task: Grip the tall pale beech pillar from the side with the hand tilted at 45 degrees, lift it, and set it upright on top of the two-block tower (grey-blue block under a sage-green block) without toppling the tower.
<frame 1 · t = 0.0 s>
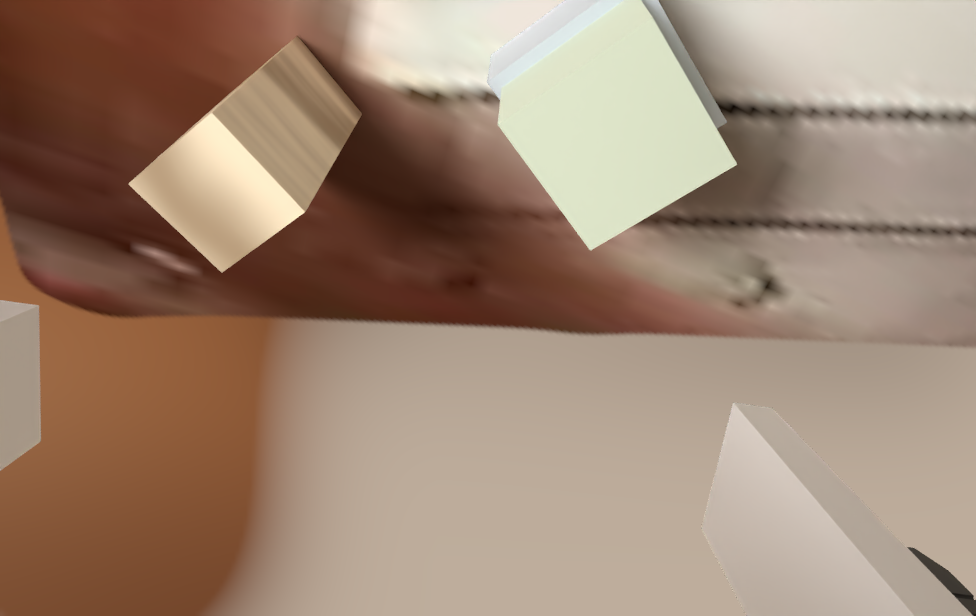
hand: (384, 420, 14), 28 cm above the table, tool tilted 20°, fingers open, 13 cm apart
tower top: (607, 105, 33), point 5 cm above the table, touching tower base
pillar: (297, 103, 39), on the table
tower base: (599, 72, 37), on the table, touching tower top
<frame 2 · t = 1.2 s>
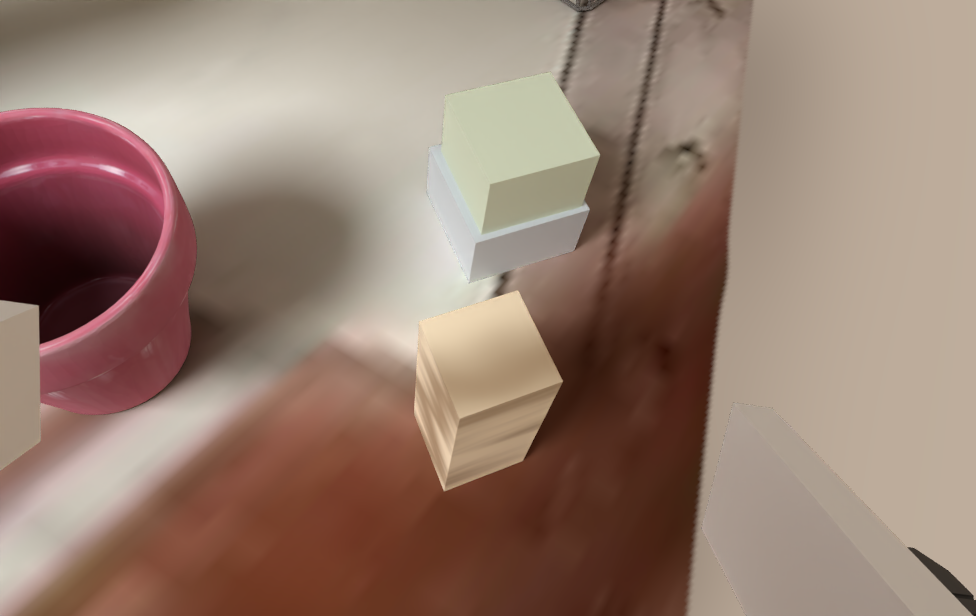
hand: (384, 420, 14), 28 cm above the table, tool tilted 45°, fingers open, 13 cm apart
tower top: (510, 178, 47), point 5 cm above the table, touching tower base
pillar: (467, 437, 43), on the table
tower base: (499, 222, 51), on the table, touching tower top
plant pot: (112, 346, 44), on the table
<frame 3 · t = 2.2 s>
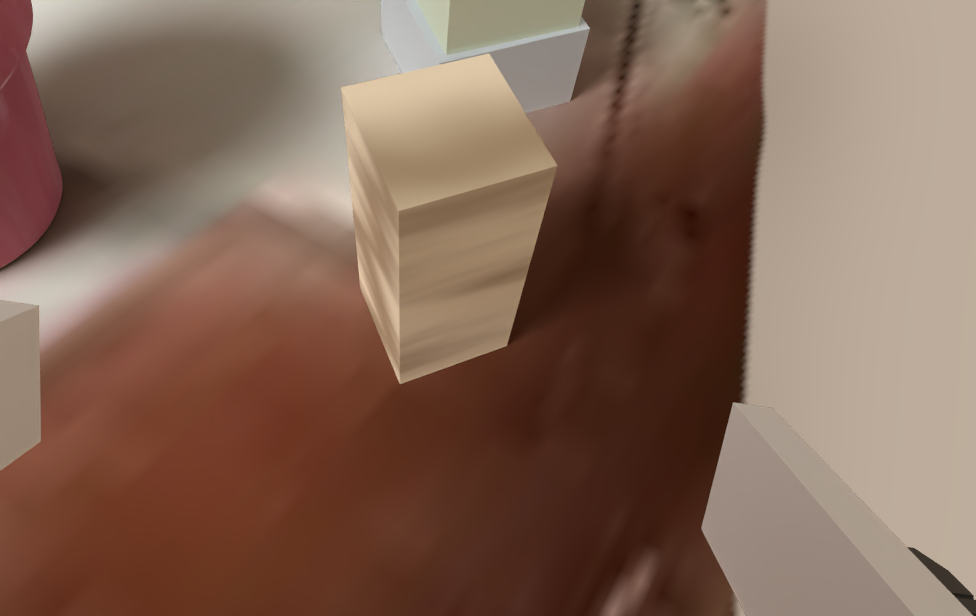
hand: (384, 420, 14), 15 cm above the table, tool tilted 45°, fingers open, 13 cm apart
pillar: (432, 317, 32), on the table
tower base: (474, 70, 40), on the table, touching tower top
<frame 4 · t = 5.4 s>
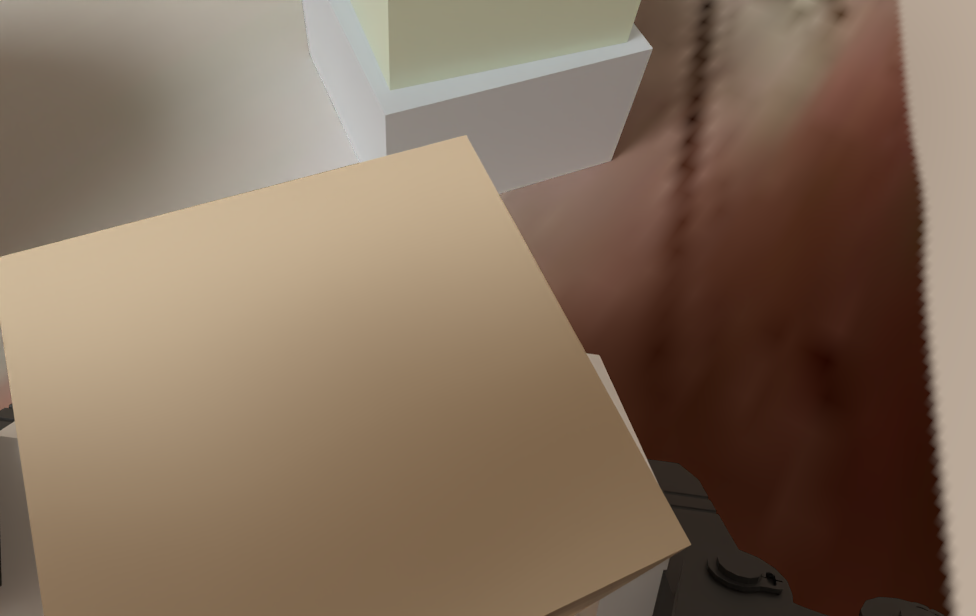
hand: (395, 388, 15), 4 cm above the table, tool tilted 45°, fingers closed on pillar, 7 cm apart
pillar: (372, 592, 17), on the table, touching gripper
tower base: (456, 111, 25), on the table
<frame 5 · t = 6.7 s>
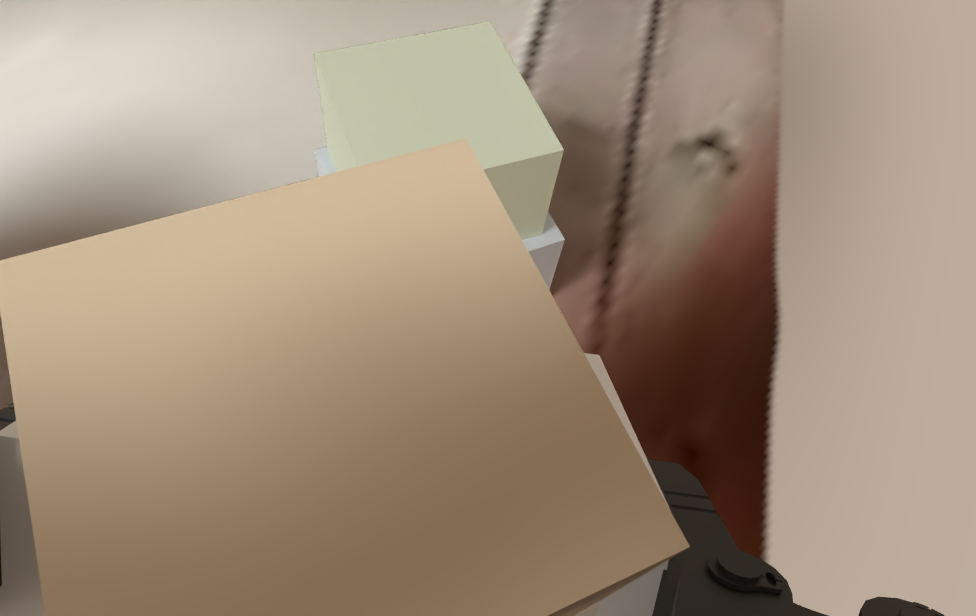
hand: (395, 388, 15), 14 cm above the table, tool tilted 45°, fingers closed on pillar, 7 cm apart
tower top: (432, 190, 30), point 5 cm above the table, touching tower base
pillar: (372, 593, 17), point 10 cm above the table, touching gripper
tower base: (433, 260, 34), on the table, touching tower top
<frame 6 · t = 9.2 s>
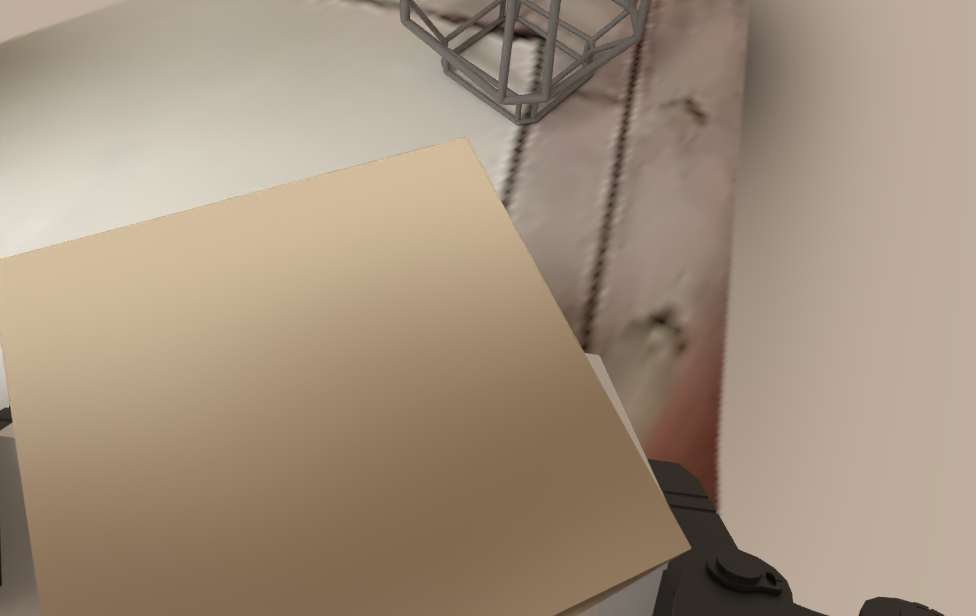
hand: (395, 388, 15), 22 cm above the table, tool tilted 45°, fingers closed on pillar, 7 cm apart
pillar: (372, 594, 17), point 18 cm above the table, touching gripper
geometric lantern: (502, 66, 52), on the table
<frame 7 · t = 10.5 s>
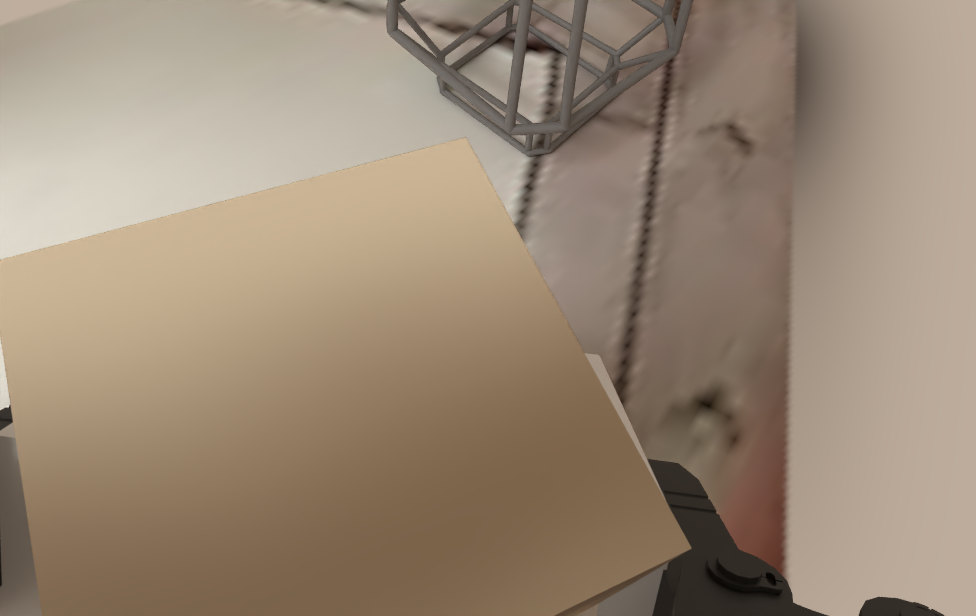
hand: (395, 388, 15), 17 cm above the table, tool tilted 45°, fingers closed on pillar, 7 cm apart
pillar: (372, 594, 17), point 13 cm above the table, touching gripper
geometric lantern: (510, 84, 44), on the table
when the fingers open (15 cm above the table, at t = 11.4 s): pillar drops 2 cm, resting on tower top.
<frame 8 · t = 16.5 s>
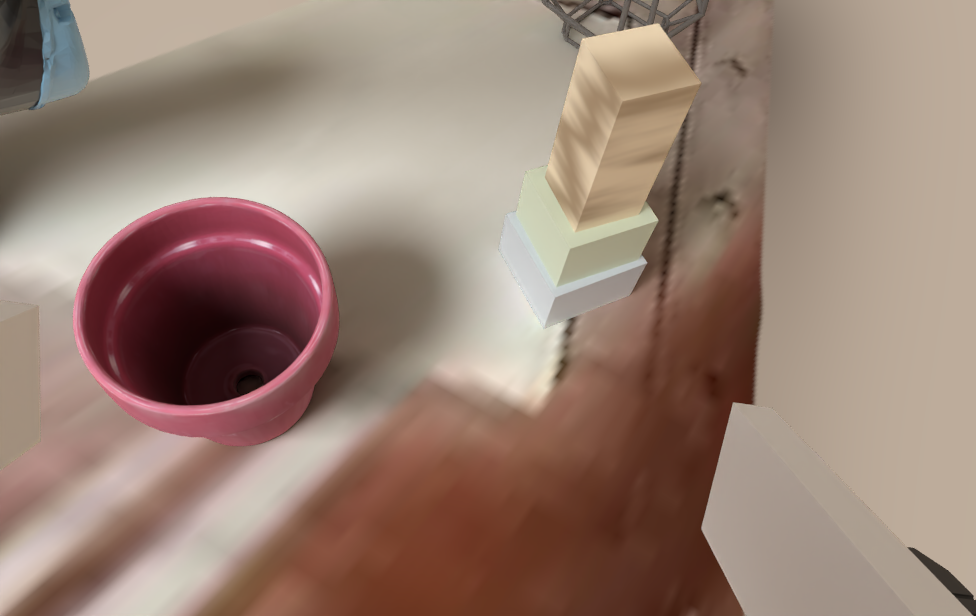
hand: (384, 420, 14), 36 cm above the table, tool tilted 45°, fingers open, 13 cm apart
tower top: (576, 236, 55), point 5 cm above the table, touching pillar, tower base
pillar: (591, 195, 50), point 10 cm above the table, touching tower top
tower base: (563, 273, 59), on the table, touching tower top
geometric lantern: (603, 36, 74), on the table
plant pot: (248, 387, 51), on the table
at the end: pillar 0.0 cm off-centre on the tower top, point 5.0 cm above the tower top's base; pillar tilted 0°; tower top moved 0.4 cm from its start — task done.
